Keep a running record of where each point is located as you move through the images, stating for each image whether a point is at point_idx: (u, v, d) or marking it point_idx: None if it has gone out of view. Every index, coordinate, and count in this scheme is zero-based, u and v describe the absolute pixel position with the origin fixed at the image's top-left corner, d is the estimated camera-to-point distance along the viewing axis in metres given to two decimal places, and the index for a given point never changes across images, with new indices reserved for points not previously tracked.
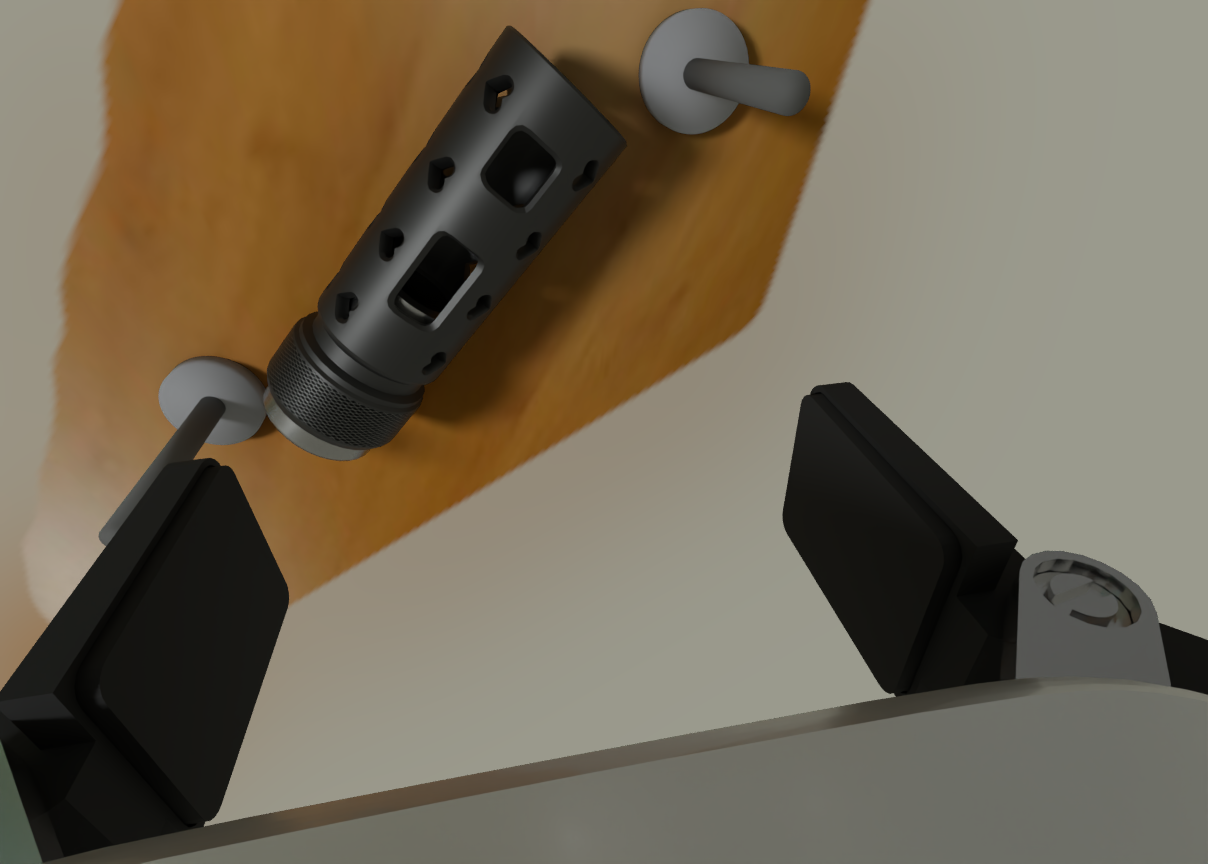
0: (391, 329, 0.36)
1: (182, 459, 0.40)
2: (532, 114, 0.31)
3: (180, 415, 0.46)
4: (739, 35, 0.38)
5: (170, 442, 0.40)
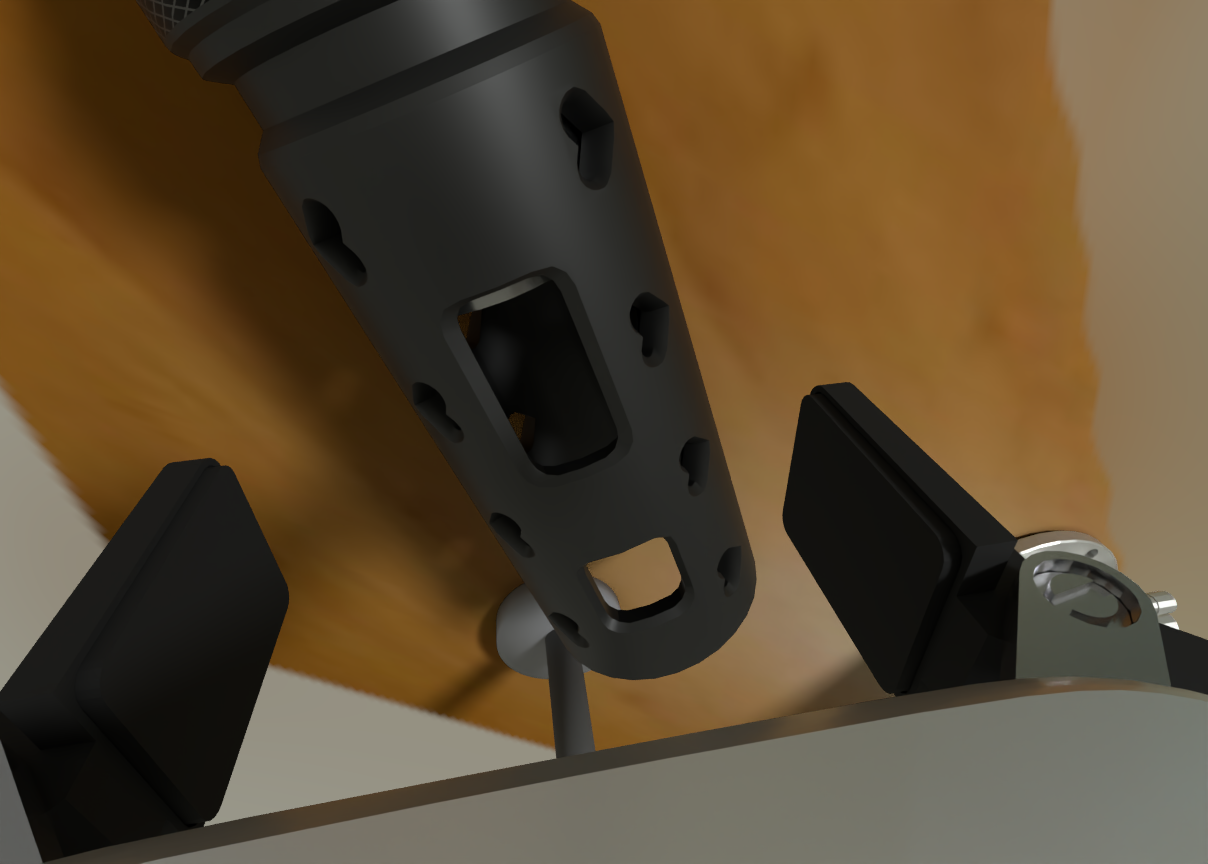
0: (496, 239, 0.13)
1: None
2: (693, 619, 0.21)
3: None
4: None
5: None
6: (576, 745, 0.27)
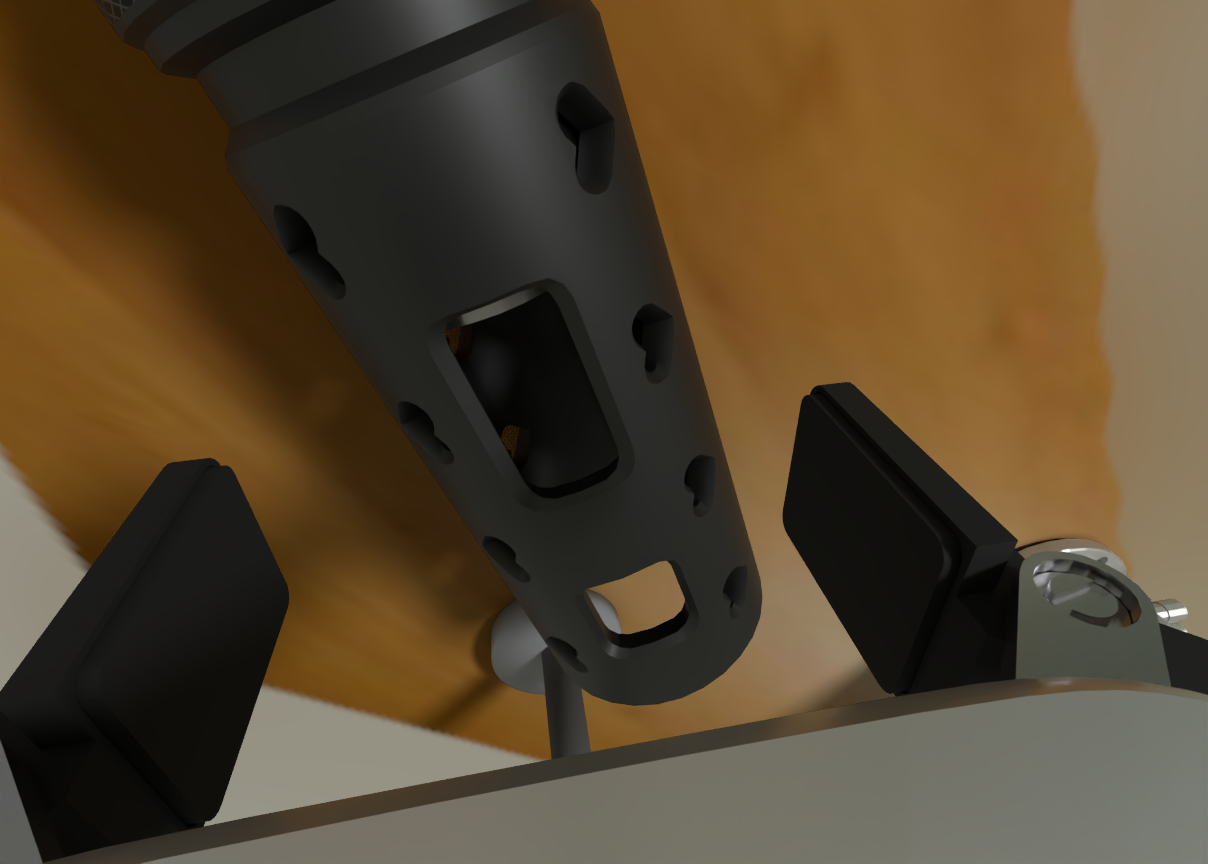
0: (486, 249, 0.12)
1: None
2: (698, 644, 0.20)
3: None
4: None
5: None
6: None
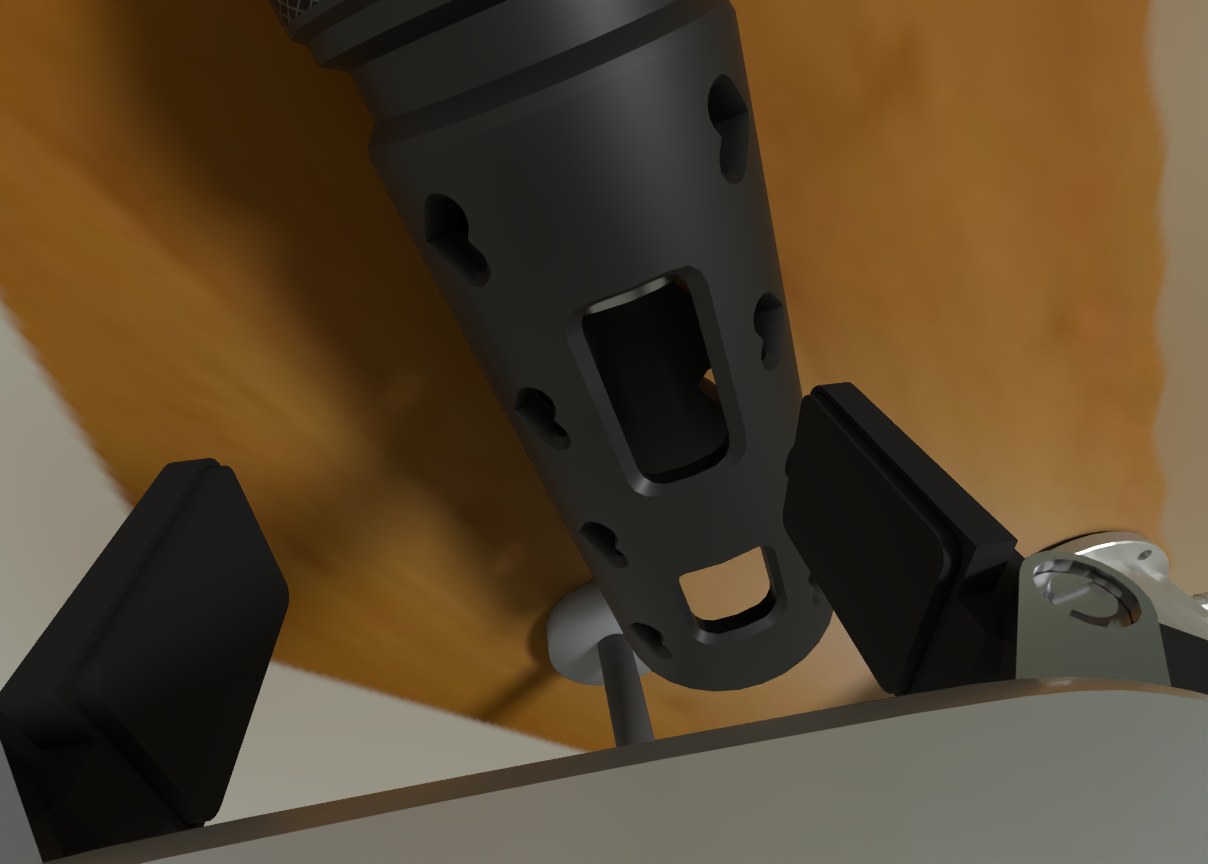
0: (636, 236, 0.12)
1: None
2: (783, 629, 0.21)
3: None
4: None
5: None
6: None
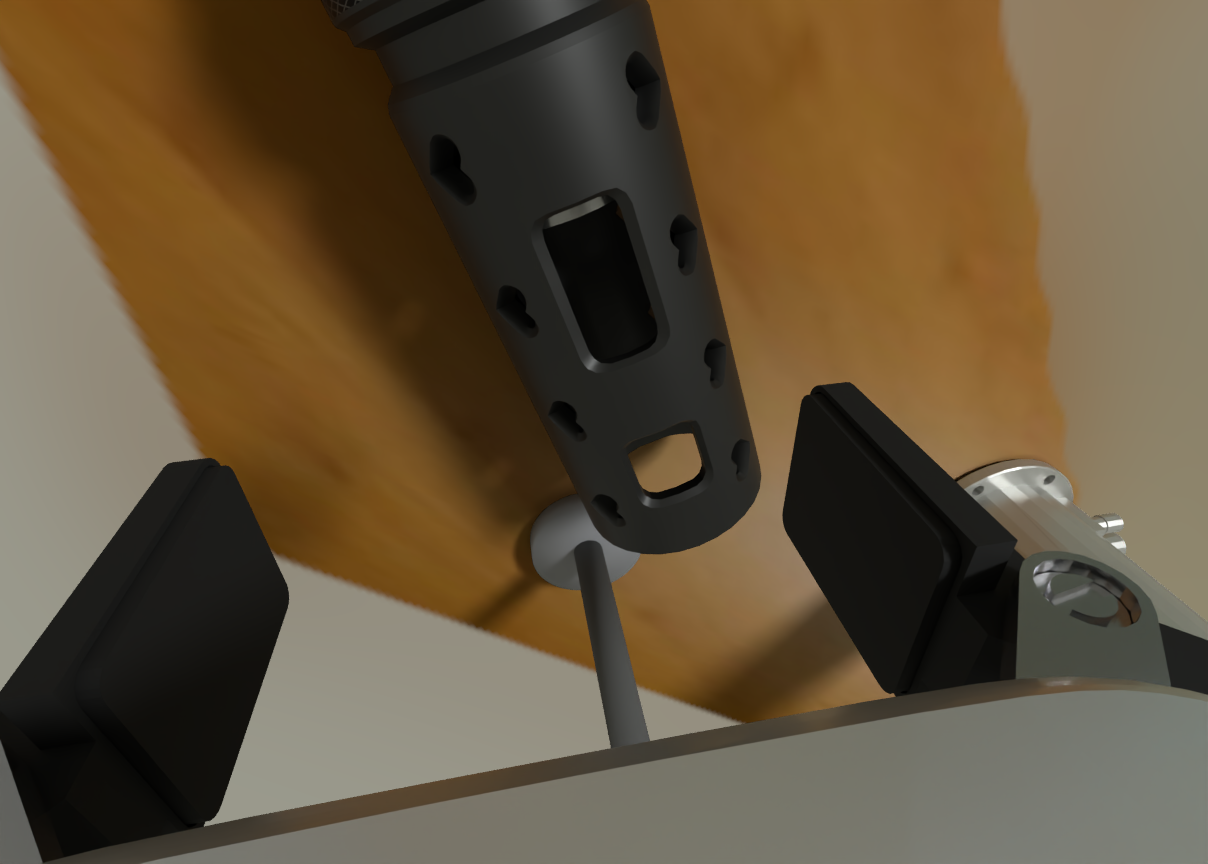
0: (577, 164, 0.18)
1: None
2: (712, 497, 0.26)
3: None
4: None
5: None
6: (607, 626, 0.32)
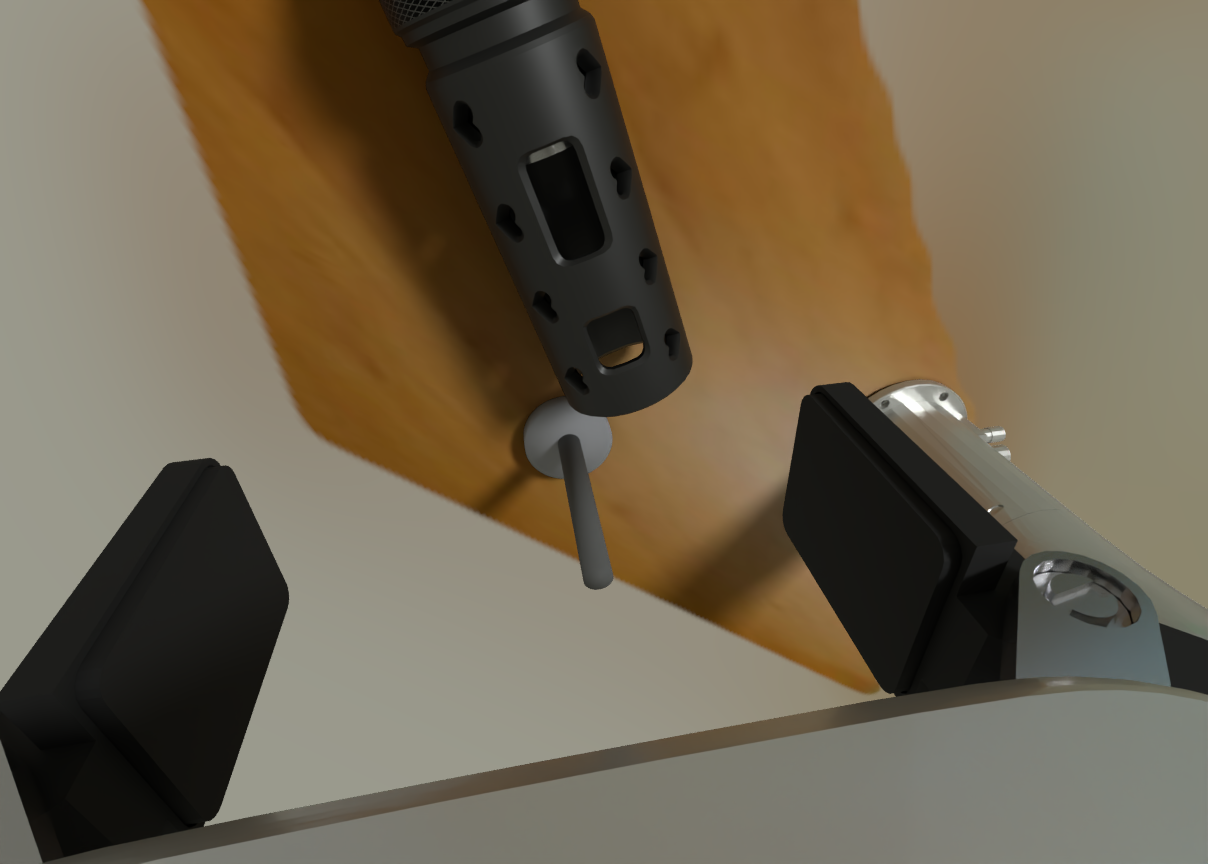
0: (546, 119, 0.28)
1: None
2: (650, 369, 0.36)
3: None
4: None
5: None
6: (580, 485, 0.42)
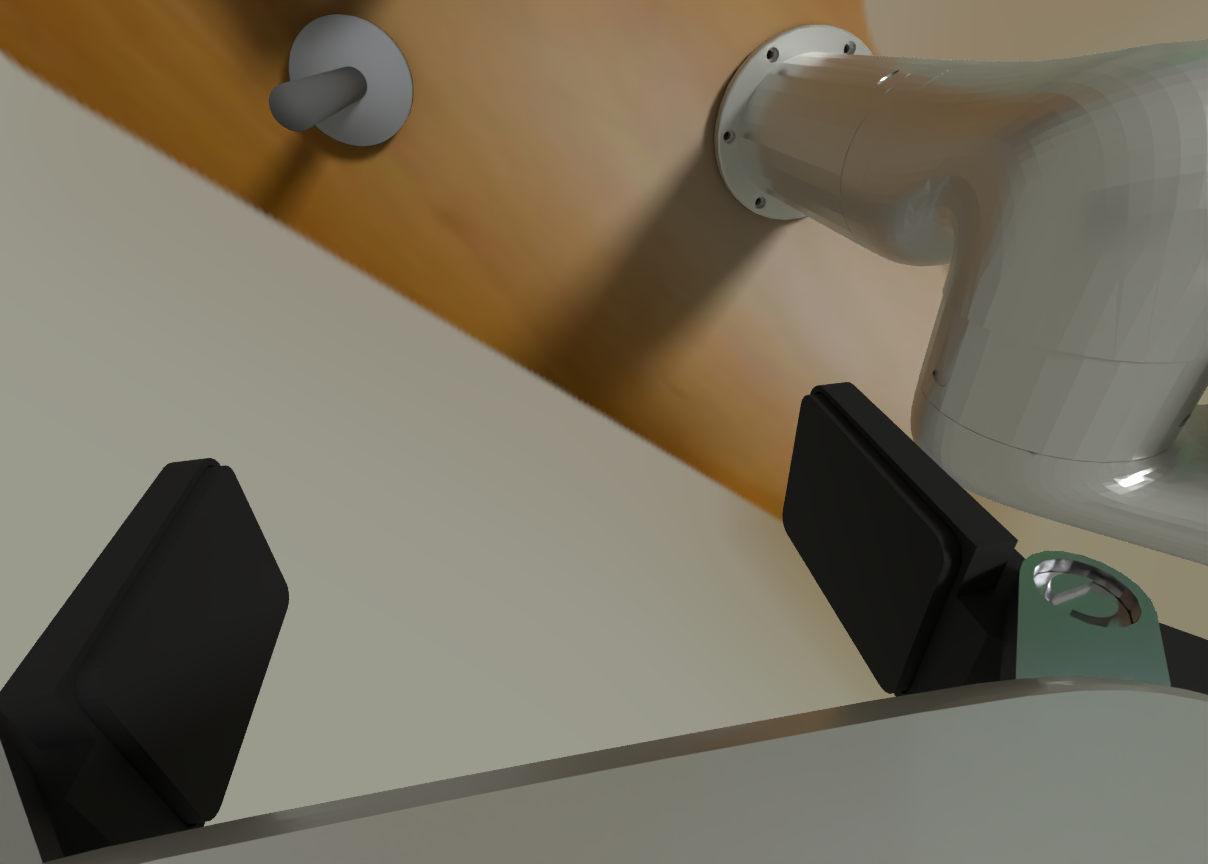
0: None
1: None
2: None
3: None
4: (373, 142, 0.39)
5: None
6: (326, 72, 0.31)
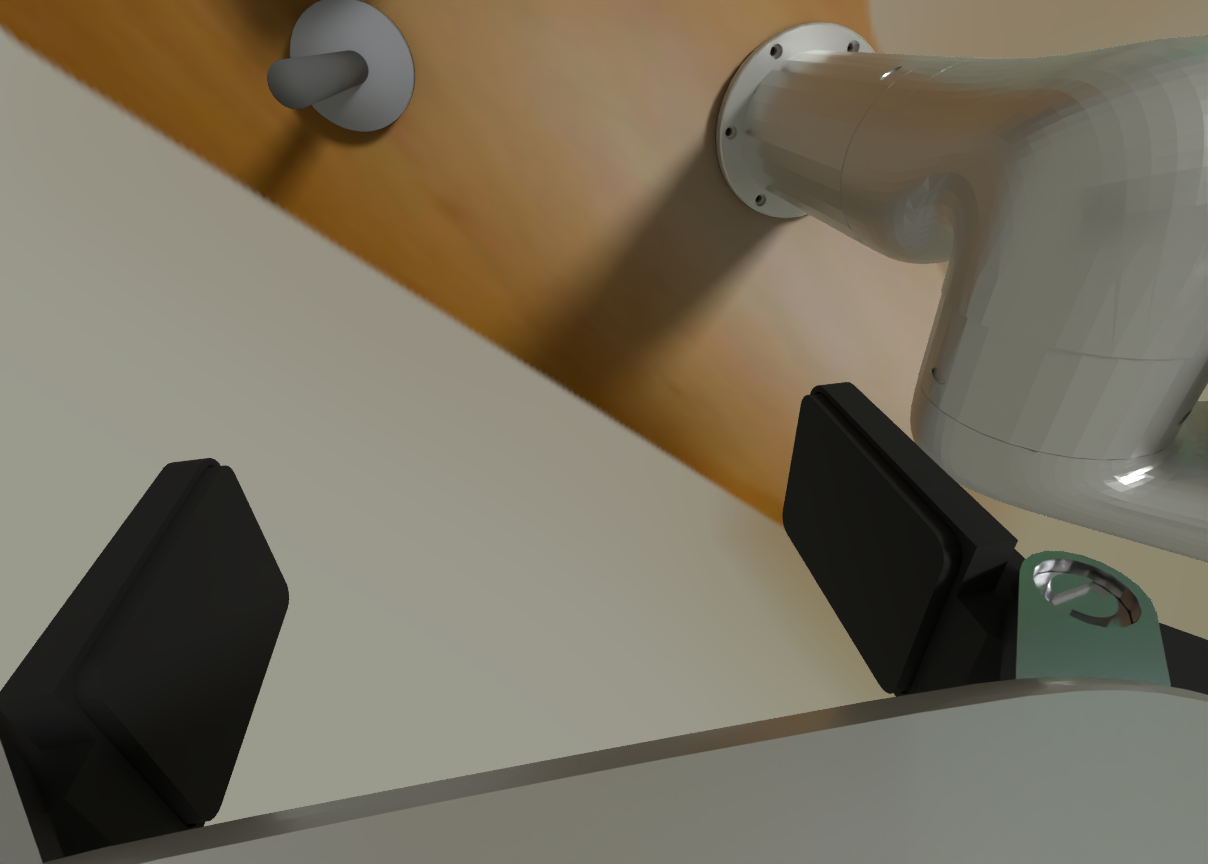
0: None
1: None
2: None
3: None
4: (373, 128, 0.39)
5: None
6: (327, 53, 0.31)
